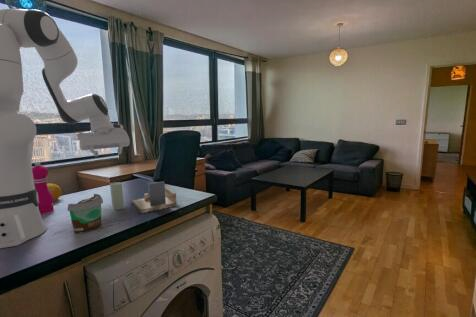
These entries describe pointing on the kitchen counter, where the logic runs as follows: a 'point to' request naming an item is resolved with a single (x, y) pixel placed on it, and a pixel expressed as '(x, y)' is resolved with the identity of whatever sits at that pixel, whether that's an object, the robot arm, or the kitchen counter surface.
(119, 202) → the pale green block
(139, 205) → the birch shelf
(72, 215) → the food container
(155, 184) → the gray rectangular slab
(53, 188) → the fruit
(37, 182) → the pepper mill
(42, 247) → the kitchen counter surface
